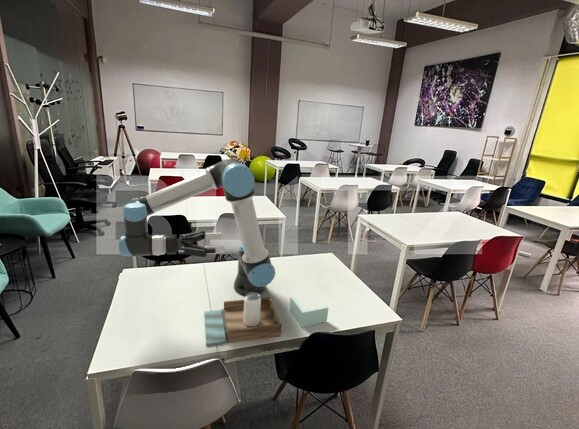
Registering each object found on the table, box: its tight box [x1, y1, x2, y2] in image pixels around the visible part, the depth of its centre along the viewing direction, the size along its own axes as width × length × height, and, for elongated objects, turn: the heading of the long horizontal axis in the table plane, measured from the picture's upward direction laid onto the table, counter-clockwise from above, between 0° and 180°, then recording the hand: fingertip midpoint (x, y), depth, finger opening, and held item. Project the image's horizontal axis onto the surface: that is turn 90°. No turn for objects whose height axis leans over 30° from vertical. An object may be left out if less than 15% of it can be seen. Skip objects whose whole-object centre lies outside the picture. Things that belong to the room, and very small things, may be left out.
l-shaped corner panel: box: [288, 296, 329, 328], centre depth 137 cm, size 12×12×8 cm
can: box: [243, 292, 262, 327], centre depth 126 cm, size 6×6×12 cm
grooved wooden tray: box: [204, 296, 282, 347], centre depth 129 cm, size 20×28×5 cm
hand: (222, 242), depth 127 cm, fingers open, 13 cm apart
